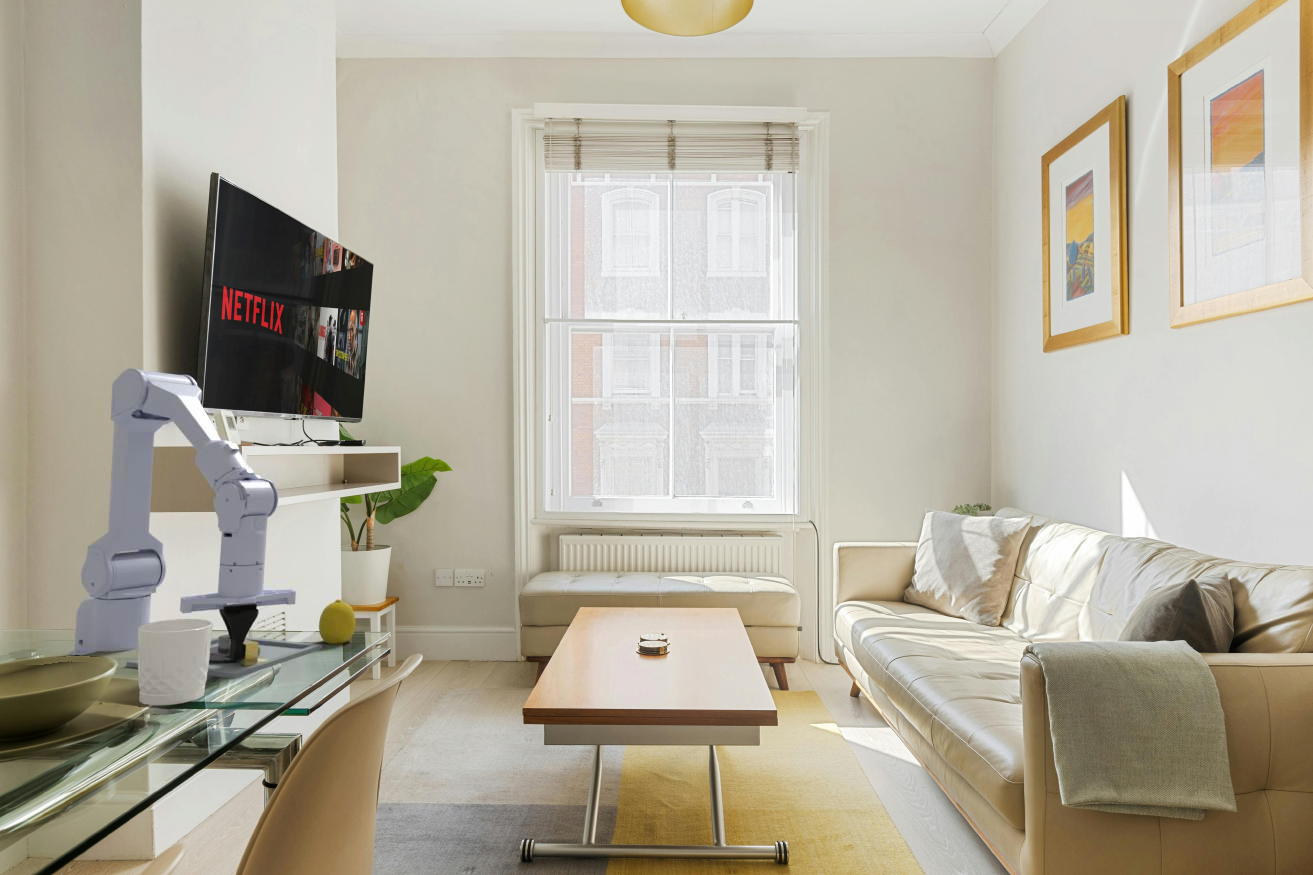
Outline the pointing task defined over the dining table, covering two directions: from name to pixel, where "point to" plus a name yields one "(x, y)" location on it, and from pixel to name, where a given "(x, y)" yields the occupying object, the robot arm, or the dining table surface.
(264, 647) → the dial plate
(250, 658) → the dial
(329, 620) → the lemon
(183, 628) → the white cup
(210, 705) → the dining table surface
